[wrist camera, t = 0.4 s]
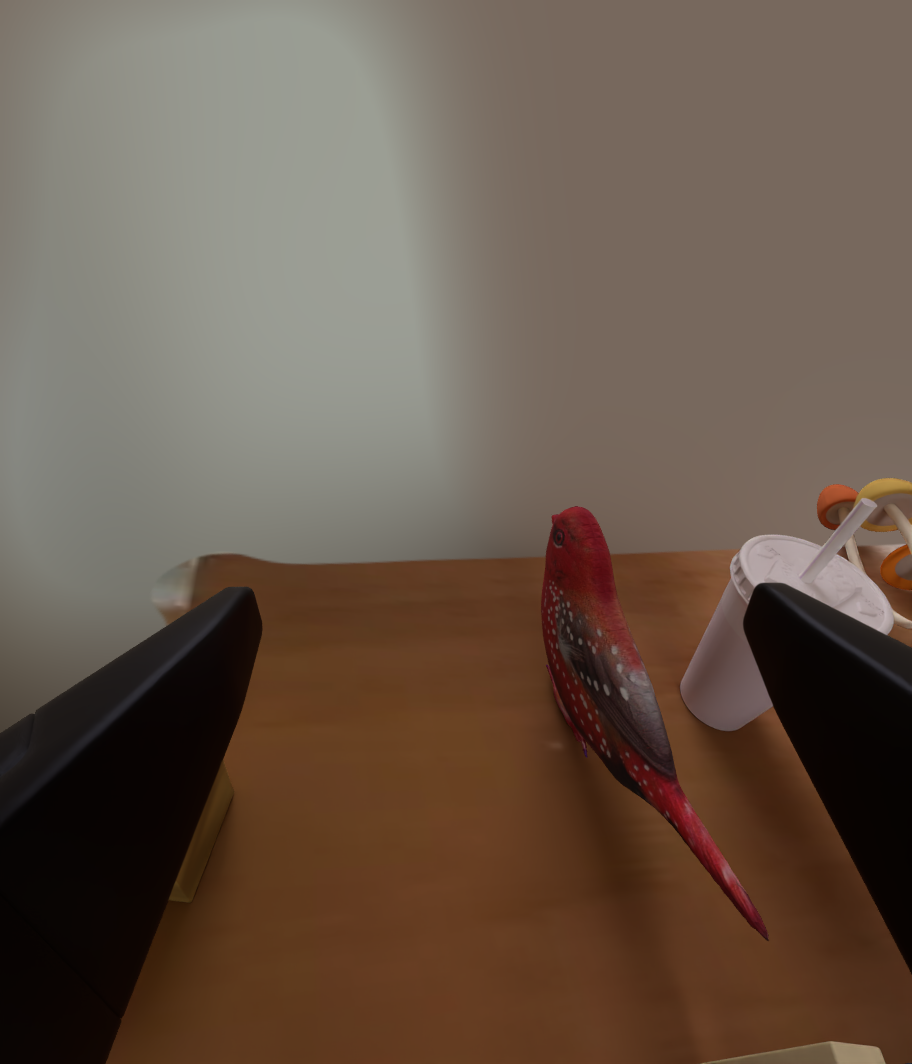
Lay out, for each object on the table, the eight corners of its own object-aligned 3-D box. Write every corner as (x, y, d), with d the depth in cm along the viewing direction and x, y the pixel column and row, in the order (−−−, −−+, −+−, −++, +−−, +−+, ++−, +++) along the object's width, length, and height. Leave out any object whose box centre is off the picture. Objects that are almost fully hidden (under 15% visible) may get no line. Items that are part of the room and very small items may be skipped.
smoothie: (640, 650, 31) (762, 451, 22) (738, 652, 32) (896, 462, 23) (683, 756, 26) (863, 558, 17) (797, 756, 27) (1027, 567, 18)
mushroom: (1053, 621, 30) (970, 471, 40) (919, 563, 30) (871, 429, 40) (935, 675, 35) (888, 531, 45) (823, 625, 36) (802, 494, 46)
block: (191, 903, 19) (166, 868, 16) (81, 889, 19) (38, 852, 16) (234, 791, 22) (219, 747, 19) (140, 778, 22) (111, 732, 19)
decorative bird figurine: (541, 610, 32) (589, 479, 26) (713, 967, 20) (894, 889, 13) (497, 615, 31) (536, 482, 25) (649, 991, 19) (806, 921, 12)
